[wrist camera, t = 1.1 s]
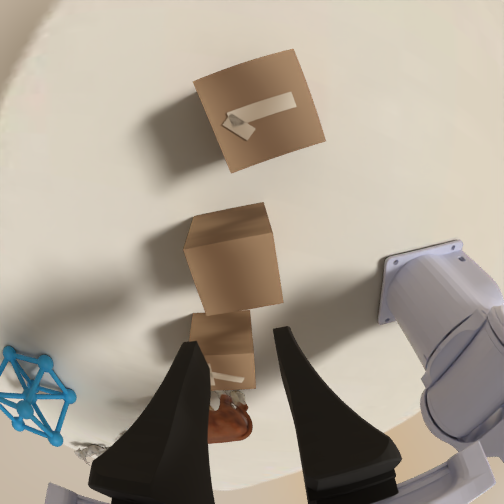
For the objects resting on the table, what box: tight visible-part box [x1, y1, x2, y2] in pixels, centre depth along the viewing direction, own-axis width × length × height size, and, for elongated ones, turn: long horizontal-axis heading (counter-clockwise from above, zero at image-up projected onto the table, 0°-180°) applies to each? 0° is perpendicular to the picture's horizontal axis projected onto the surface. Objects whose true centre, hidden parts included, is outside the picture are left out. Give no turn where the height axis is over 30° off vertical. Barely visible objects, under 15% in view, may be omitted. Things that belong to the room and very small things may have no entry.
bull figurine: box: [208, 390, 253, 444], centre depth 27 cm, size 4×13×8 cm, turn 102°
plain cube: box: [183, 202, 283, 316], centre depth 19 cm, size 5×5×5 cm
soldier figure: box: [74, 445, 109, 465], centre depth 41 cm, size 8×5×12 cm
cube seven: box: [189, 310, 256, 391], centre depth 23 cm, size 5×5×5 cm
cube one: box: [193, 49, 326, 173], centre depth 14 cm, size 5×5×5 cm
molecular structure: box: [0, 346, 77, 447], centre depth 24 cm, size 10×10×10 cm
